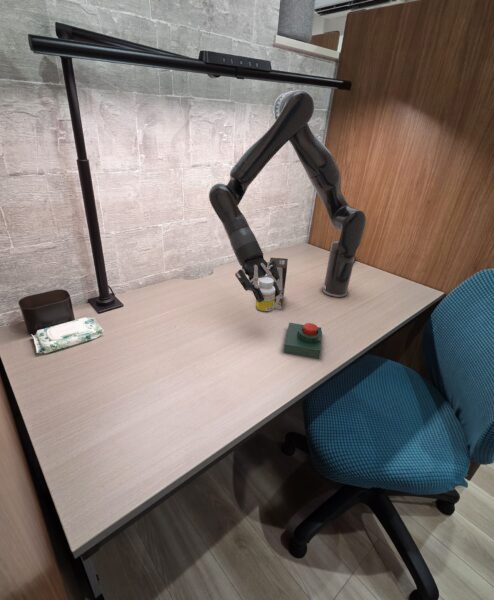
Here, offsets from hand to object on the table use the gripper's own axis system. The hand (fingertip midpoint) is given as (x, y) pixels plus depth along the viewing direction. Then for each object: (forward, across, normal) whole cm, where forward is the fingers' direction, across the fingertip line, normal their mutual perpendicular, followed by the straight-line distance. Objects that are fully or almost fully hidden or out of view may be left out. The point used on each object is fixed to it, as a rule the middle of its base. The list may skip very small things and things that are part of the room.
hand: (269, 298), depth 90 cm
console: (+16, +7, +4) cm, 18 cm away
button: (+13, +8, 0) cm, 16 cm away
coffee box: (-1, +18, +21) cm, 28 cm away
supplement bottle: (+2, 0, +5) cm, 5 cm away
